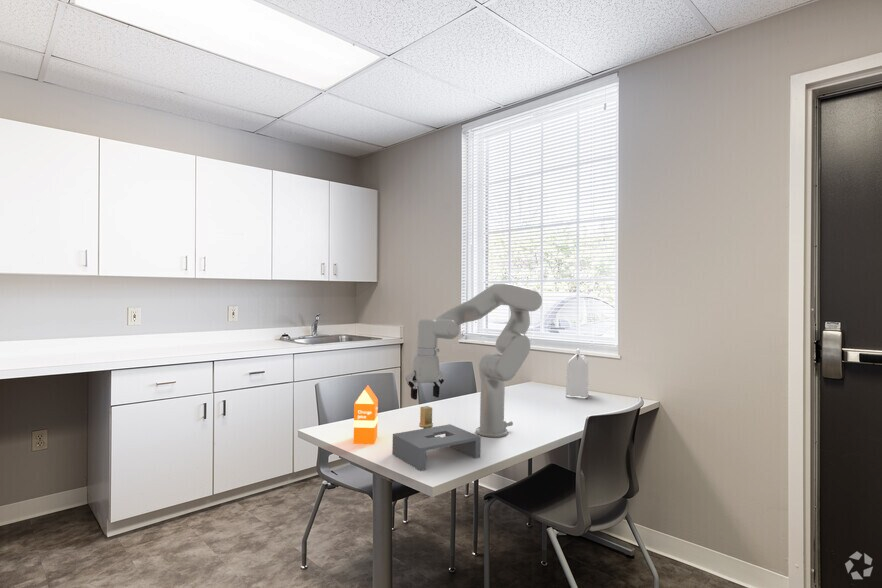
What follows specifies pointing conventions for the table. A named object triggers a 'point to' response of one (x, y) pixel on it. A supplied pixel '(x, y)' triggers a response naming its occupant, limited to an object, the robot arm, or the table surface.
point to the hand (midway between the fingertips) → (425, 397)
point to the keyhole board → (433, 443)
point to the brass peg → (426, 417)
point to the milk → (577, 376)
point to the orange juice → (366, 418)
